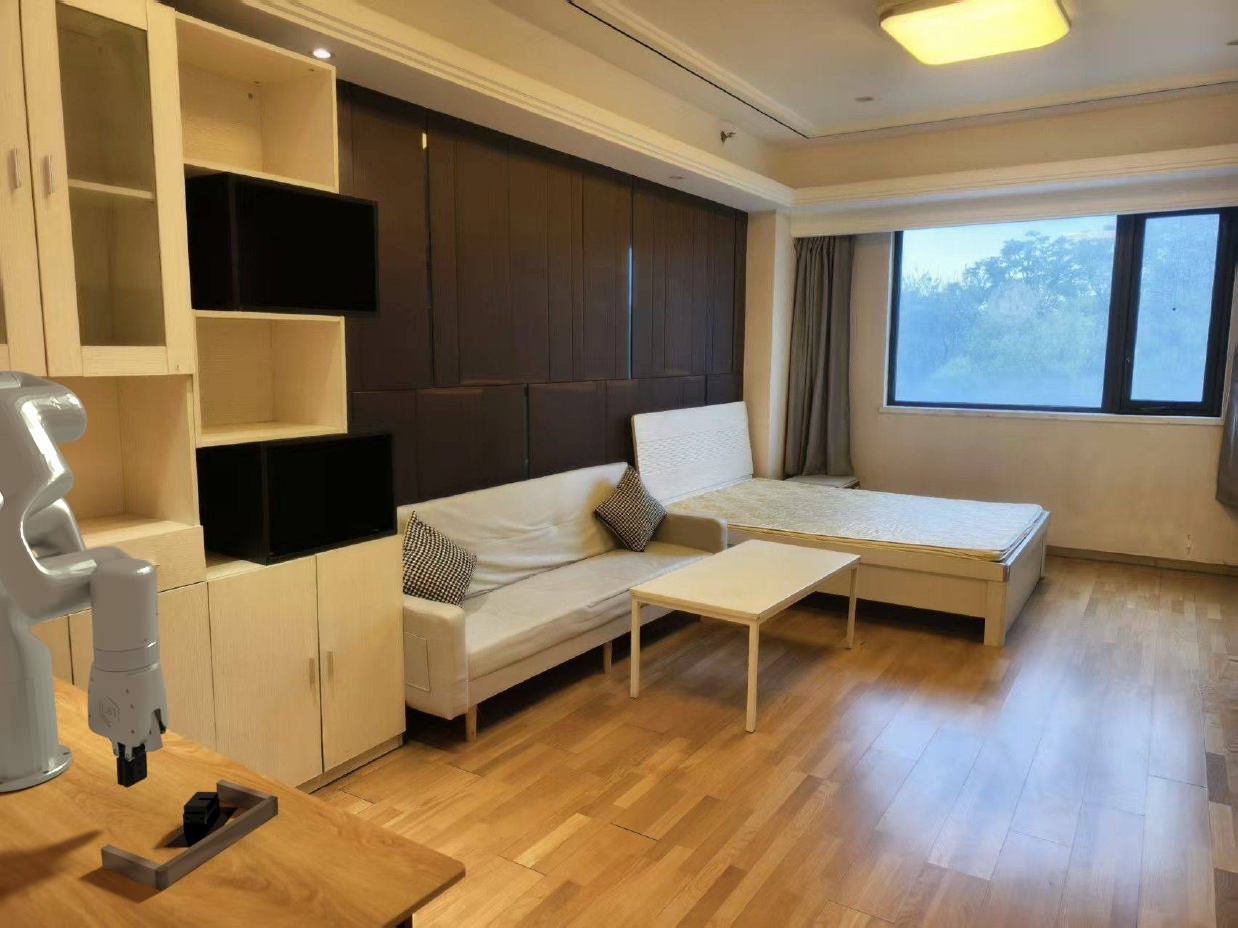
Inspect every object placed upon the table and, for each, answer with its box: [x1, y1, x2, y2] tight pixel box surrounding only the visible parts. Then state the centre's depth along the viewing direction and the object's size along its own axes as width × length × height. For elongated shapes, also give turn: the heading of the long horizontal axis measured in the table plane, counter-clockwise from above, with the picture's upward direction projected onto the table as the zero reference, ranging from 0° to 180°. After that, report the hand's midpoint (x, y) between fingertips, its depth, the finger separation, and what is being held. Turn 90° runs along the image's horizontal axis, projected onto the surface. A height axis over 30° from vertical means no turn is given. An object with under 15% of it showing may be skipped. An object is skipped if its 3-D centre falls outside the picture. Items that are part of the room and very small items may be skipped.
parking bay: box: [100, 779, 279, 892], centre depth 110 cm, size 10×18×2 cm, turn 156°
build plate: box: [163, 791, 239, 849], centre depth 113 cm, size 12×7×5 cm, turn 0°
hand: (132, 780), depth 114 cm, fingers closed
